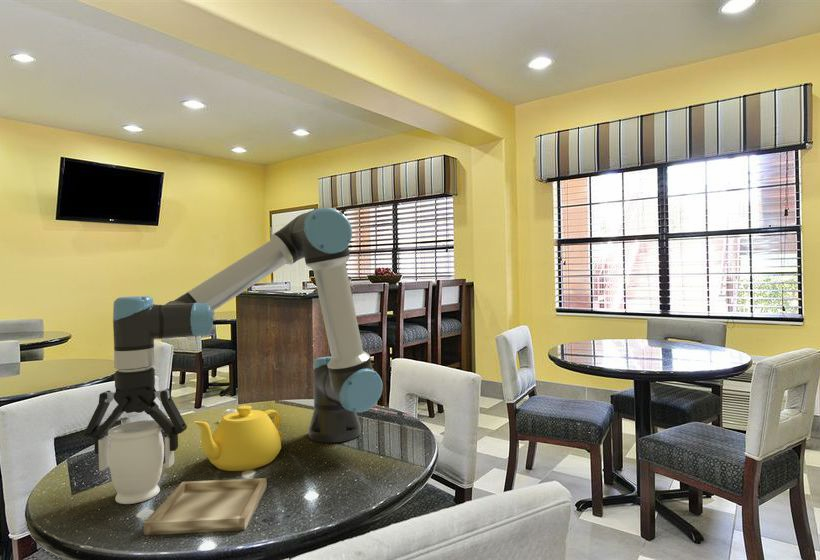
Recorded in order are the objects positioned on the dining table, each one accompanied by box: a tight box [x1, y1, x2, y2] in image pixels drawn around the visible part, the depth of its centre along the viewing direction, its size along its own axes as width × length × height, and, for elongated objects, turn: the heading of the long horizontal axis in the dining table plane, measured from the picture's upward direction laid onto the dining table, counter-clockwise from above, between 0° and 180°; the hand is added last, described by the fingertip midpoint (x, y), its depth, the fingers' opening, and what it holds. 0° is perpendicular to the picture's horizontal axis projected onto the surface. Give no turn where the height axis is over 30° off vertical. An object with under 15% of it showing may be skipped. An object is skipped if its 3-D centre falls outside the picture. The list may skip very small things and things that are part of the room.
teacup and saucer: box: [218, 408, 237, 423], centre depth 160 cm, size 9×8×4 cm
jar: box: [107, 419, 165, 505], centre depth 106 cm, size 11×10×15 cm
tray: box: [143, 477, 268, 536], centre depth 99 cm, size 18×18×2 cm
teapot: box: [193, 404, 284, 472], centre depth 125 cm, size 25×18×14 cm
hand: (137, 467), depth 106 cm, fingers open, 13 cm apart
